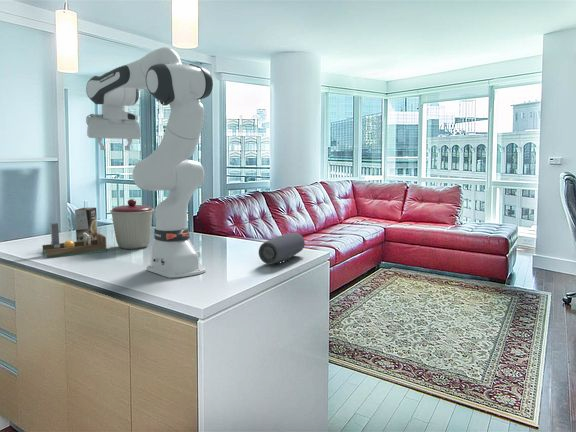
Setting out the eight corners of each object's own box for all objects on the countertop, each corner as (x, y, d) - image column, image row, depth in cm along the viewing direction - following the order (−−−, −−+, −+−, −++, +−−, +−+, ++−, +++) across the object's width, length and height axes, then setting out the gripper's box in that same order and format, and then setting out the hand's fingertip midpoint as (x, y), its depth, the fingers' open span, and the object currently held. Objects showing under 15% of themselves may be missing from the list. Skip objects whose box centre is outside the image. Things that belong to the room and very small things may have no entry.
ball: (75, 250, 182) (75, 240, 182) (65, 251, 180) (64, 241, 179) (73, 248, 185) (73, 239, 185) (63, 249, 183) (62, 240, 182)
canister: (129, 253, 182) (127, 202, 179) (102, 247, 192) (100, 199, 189) (163, 245, 197) (162, 198, 194) (137, 241, 207) (135, 196, 204)
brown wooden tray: (106, 251, 186) (105, 235, 185) (47, 257, 173) (46, 240, 172) (99, 246, 195) (98, 230, 194) (42, 252, 182) (41, 236, 181)
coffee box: (91, 245, 195) (89, 209, 193) (76, 245, 195) (74, 209, 193) (98, 241, 204) (96, 207, 202) (84, 241, 204) (82, 207, 202)
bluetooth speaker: (285, 253, 184) (285, 230, 182) (305, 256, 180) (306, 232, 178) (256, 265, 164) (256, 239, 162) (278, 269, 160) (279, 242, 158)
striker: (61, 252, 177) (59, 224, 175) (54, 252, 175) (52, 225, 174) (57, 248, 184) (55, 221, 182) (50, 249, 182) (49, 222, 181)
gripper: (87, 113, 167) (89, 150, 170) (141, 116, 179) (142, 150, 181) (84, 113, 173) (85, 149, 175) (137, 116, 184) (138, 150, 187)
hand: (115, 150), depth 178 cm, fingers open, 8 cm apart
